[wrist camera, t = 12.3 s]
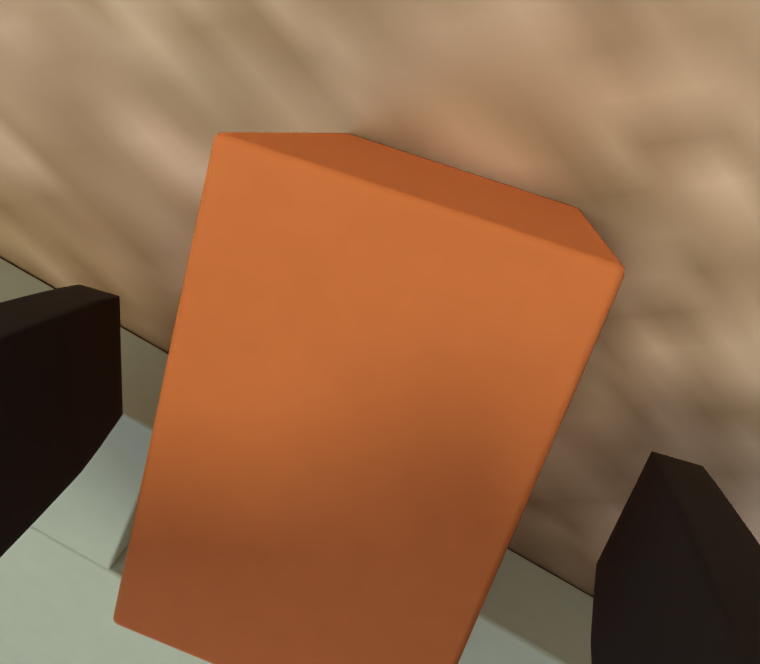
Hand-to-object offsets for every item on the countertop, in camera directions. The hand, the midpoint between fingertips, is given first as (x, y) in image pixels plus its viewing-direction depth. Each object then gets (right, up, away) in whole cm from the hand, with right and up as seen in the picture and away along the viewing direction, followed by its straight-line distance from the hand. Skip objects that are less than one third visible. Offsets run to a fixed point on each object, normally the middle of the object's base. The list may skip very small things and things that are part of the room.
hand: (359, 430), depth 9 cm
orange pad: (0, 0, +3) cm, 3 cm away
